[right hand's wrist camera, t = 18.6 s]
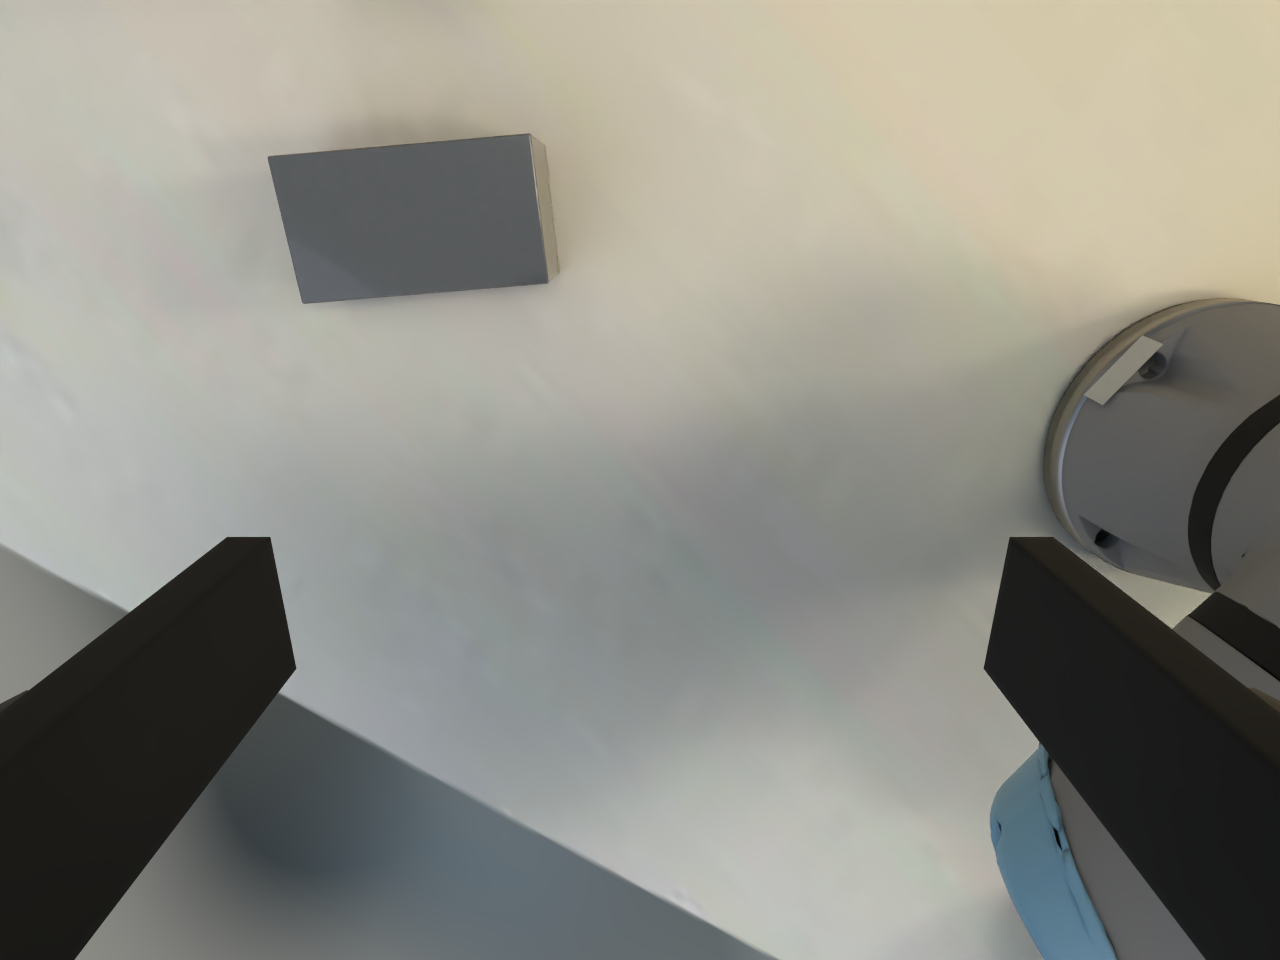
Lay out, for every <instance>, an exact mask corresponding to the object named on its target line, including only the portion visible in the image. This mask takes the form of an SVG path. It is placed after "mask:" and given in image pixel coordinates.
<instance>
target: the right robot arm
mask: <svg viewBox="0 0 1280 960" xmlns="http://www.w3.org/2000/svg"><path fill="white" fill-rule="evenodd" d="M1044 481H1045V487H1046V492H1047V495H1048V499H1049V502H1050V504H1051V507H1052V509H1053V511H1054V513H1055V515H1056V517H1057V518H1058V520H1059V522H1060V523H1061V524H1062V526H1063V527H1064V528H1065V530H1066V531H1067V532H1068V533H1069V534H1070V535H1071V536H1072V537H1073V538H1074V539H1075V540H1077V541H1078V542H1079V543H1080V544H1082V545H1083V546H1084V547H1086V548H1087V549H1088V550H1090V551H1091V552H1092V553H1094V554H1095V555H1096V556H1098V557H1099V558H1101V559H1102V560H1104V561H1105V562H1107V563H1109V564H1110V565H1112V566H1115V567H1117V568H1119V569H1121V570H1124V571H1127V572H1130V573H1133V574H1137V575H1140V576H1144V577H1148V578H1152V579H1156V580H1160V581H1164V582H1168V583H1172V584H1176V585H1180V586H1184V587H1188V588H1192V589H1196V590H1200V591H1204V592H1208V593H1212V595H1211V596H1210V597H1208V598H1207V599H1206V600H1205V601H1204V602H1203V603H1202V604H1201V605H1199V606H1198V607H1197V608H1196V609H1195V610H1194V611H1193V612H1192V613H1190V614H1189V615H1187V616H1186V617H1185V618H1184V619H1183V620H1182V621H1181V622H1180V623H1178V624H1177V625H1176V626H1175V627H1174V628H1173V629H1171V628H1170V627H1168V626H1167V625H1166V624H1165V623H1163V622H1162V621H1161V620H1159V619H1158V618H1157V617H1155V616H1154V615H1153V614H1152V613H1150V612H1149V611H1148V610H1146V609H1145V608H1144V607H1143V606H1141V605H1140V604H1139V603H1137V602H1136V601H1135V600H1134V599H1132V598H1131V597H1130V596H1128V595H1127V594H1126V593H1124V592H1123V591H1122V590H1121V589H1119V588H1118V587H1117V586H1115V585H1114V584H1113V583H1112V582H1110V581H1109V580H1108V579H1106V578H1105V577H1104V576H1103V575H1101V574H1100V573H1099V572H1097V571H1096V570H1095V569H1093V568H1092V567H1091V566H1090V565H1088V564H1087V563H1086V562H1084V561H1083V560H1082V559H1081V558H1079V557H1078V556H1077V555H1075V554H1074V553H1073V552H1071V551H1070V550H1069V549H1068V548H1066V547H1065V546H1064V545H1062V544H1061V543H1060V542H1059V541H1057V540H1056V539H1055V538H1053V537H1010V538H1009V543H1008V549H1007V554H1006V559H1005V564H1004V569H1003V574H1002V579H1001V584H1000V589H999V594H998V599H997V604H996V609H995V614H994V619H993V624H992V629H991V634H990V639H989V645H988V650H987V655H986V660H985V665H984V670H985V671H986V672H987V674H988V675H989V676H990V677H991V679H992V680H993V681H994V683H995V684H996V685H997V687H998V688H999V689H1000V691H1001V692H1002V693H1003V695H1004V696H1005V697H1006V698H1007V700H1008V701H1009V702H1010V704H1011V705H1012V706H1013V708H1014V709H1015V710H1016V712H1017V713H1018V714H1019V715H1020V717H1021V718H1022V719H1023V721H1024V722H1025V723H1026V725H1027V726H1028V727H1029V729H1030V730H1031V731H1032V733H1033V734H1034V735H1035V736H1036V738H1037V739H1038V740H1039V742H1040V743H1039V748H1038V749H1037V750H1036V751H1035V752H1034V753H1033V754H1032V755H1031V756H1030V758H1029V759H1028V760H1027V761H1026V762H1025V763H1024V764H1023V765H1022V766H1021V767H1020V768H1019V769H1018V770H1017V771H1016V772H1015V773H1014V774H1013V775H1012V776H1011V777H1010V778H1009V779H1008V780H1007V781H1006V782H1005V783H1004V784H1003V785H1002V786H1001V787H1000V789H999V790H998V792H997V793H996V795H995V797H994V800H993V804H992V807H991V812H990V829H991V839H992V842H993V846H994V849H995V852H996V857H997V864H998V867H999V869H1000V872H1001V875H1002V878H1003V880H1004V883H1005V885H1006V888H1007V890H1008V892H1009V895H1010V897H1011V899H1012V901H1013V903H1014V905H1015V907H1016V909H1017V912H1018V914H1019V915H1020V917H1021V919H1022V921H1023V923H1024V925H1025V927H1026V929H1027V931H1028V932H1029V934H1030V936H1031V938H1032V939H1033V941H1034V943H1035V945H1036V946H1037V948H1038V950H1039V951H1040V953H1041V955H1042V956H1043V958H1044V959H1045V960H1280V305H1276V304H1270V303H1263V302H1256V301H1249V300H1242V299H1229V298H1220V299H1207V300H1200V301H1194V302H1190V303H1185V304H1181V305H1178V306H1175V307H1172V308H1169V309H1166V310H1163V311H1161V312H1159V313H1157V314H1154V315H1152V316H1150V317H1148V318H1146V319H1144V320H1142V321H1140V322H1138V323H1137V324H1135V325H1133V326H1132V327H1130V328H1129V329H1127V330H1126V331H1124V332H1122V333H1121V334H1120V335H1118V336H1117V337H1116V338H1114V339H1113V340H1112V341H1110V342H1109V343H1108V344H1107V345H1106V346H1105V347H1104V348H1102V349H1101V350H1100V351H1099V352H1098V353H1097V354H1096V355H1095V356H1094V357H1093V358H1092V359H1091V360H1090V361H1089V362H1088V363H1087V364H1086V366H1085V367H1084V368H1083V369H1082V370H1081V372H1080V373H1079V374H1078V375H1077V377H1076V378H1075V379H1074V381H1073V382H1072V384H1071V385H1070V387H1069V388H1068V390H1067V391H1066V393H1065V395H1064V397H1063V398H1062V400H1061V402H1060V404H1059V406H1058V408H1057V410H1056V412H1055V415H1054V417H1053V420H1052V423H1051V426H1050V428H1049V432H1048V436H1047V440H1046V446H1045V452H1044ZM295 670H296V665H295V660H294V655H293V650H292V645H291V639H290V634H289V629H288V624H287V619H286V614H285V609H284V604H283V599H282V594H281V589H280V584H279V579H278V574H277V569H276V564H275V559H274V554H273V549H272V543H271V538H270V537H227V538H225V539H224V540H223V541H221V542H220V543H219V544H218V545H216V546H215V547H214V548H212V549H211V550H210V551H209V552H207V553H206V554H205V555H203V556H202V557H201V558H199V559H198V560H197V561H196V562H194V563H193V564H192V565H190V566H189V567H188V568H187V569H185V570H184V571H183V572H181V573H180V574H179V575H177V576H176V577H175V578H174V579H172V580H171V581H170V582H168V583H167V584H166V585H165V586H163V587H162V588H161V589H159V590H158V591H157V592H156V593H154V594H153V595H152V596H150V597H149V598H148V599H146V600H145V601H144V602H143V603H141V604H140V605H139V606H137V607H136V608H135V609H134V610H132V611H131V612H130V613H128V614H127V615H126V616H125V617H123V618H122V619H121V620H119V621H118V622H117V623H115V624H114V625H113V626H112V627H110V628H109V629H108V630H106V631H105V632H104V633H103V634H101V635H100V636H99V637H97V638H96V639H95V640H94V641H92V642H91V643H90V644H88V645H87V646H86V647H85V648H83V649H82V650H81V651H79V652H78V653H77V654H75V655H74V656H73V657H72V658H70V659H69V660H68V661H66V662H65V663H64V664H62V665H61V666H60V667H59V668H57V669H56V670H55V671H53V672H52V673H51V674H50V675H48V676H47V677H46V678H44V679H43V680H42V681H41V682H39V683H38V684H37V685H35V686H34V687H33V688H32V689H30V690H27V691H24V692H22V693H21V694H19V695H17V696H15V697H13V698H11V699H9V700H7V701H5V702H3V703H1V704H0V960H75V958H76V957H77V956H78V954H79V953H80V952H81V950H82V949H83V948H84V946H85V945H86V944H87V942H88V941H89V940H90V939H91V937H92V936H93V935H94V933H95V932H96V931H97V929H98V928H99V927H100V925H101V924H102V923H103V921H104V920H105V919H106V918H107V916H108V915H109V914H110V912H111V911H112V910H113V908H114V907H115V906H116V904H117V903H118V902H119V900H120V899H121V898H122V897H123V895H124V894H125V893H126V891H127V890H128V889H129V887H130V886H131V885H132V883H133V882H134V881H135V879H136V878H137V877H138V876H139V874H140V873H141V872H142V870H143V869H144V868H145V866H146V865H147V864H148V862H149V861H150V860H151V858H152V857H153V856H154V855H155V853H156V852H157V851H158V849H159V848H160V847H161V845H162V844H163V843H164V841H165V840H166V839H167V837H168V836H169V835H170V833H171V832H172V831H173V830H174V828H175V827H176V826H177V824H178V823H179V822H180V820H181V819H182V818H183V817H184V815H185V814H186V813H187V811H188V810H189V809H190V807H191V806H192V805H193V803H194V802H195V801H196V799H197V798H198V797H199V796H200V794H201V793H202V792H203V790H204V789H205V788H206V786H207V785H208V784H209V782H210V781H211V780H212V778H213V777H214V776H215V775H216V773H217V772H218V771H219V769H220V768H221V767H222V765H223V764H224V763H225V761H226V760H227V759H228V757H229V756H230V755H231V753H232V752H233V751H234V750H235V748H236V747H237V746H238V744H239V743H240V742H241V740H242V739H243V738H244V736H245V735H246V734H247V733H248V731H249V730H250V729H251V727H252V726H253V725H254V723H255V722H256V721H257V719H258V718H259V717H260V715H261V714H262V713H263V712H264V710H265V709H266V708H267V706H268V705H269V704H270V702H271V701H272V700H273V698H274V697H275V696H276V694H277V693H278V692H279V691H280V689H281V688H282V687H283V685H284V684H285V683H286V681H287V680H288V679H289V677H290V676H291V675H292V674H293V672H294V671H295Z"/></svg>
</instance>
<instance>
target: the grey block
mask: <svg viewBox="0 0 1280 960" xmlns="http://www.w3.org/2000/svg"><path fill="white" fill-rule="evenodd" d="M268 162H269V166H270V170H271V174H272V178H273V183H274V187H275V191H276V195H277V199H278V203H279V208H280V212H281V216H282V220H283V224H284V228H285V233H286V237H287V241H288V245H289V249H290V253H291V257H292V262H293V266H294V270H295V274H296V278H297V282H298V287H299V291H300V295H301V299H302V303H304V304H308V303H320V302H332V301H344V300H356V299H368V298H380V297H393V296H405V295H417V294H429V293H441V292H453V291H465V290H477V289H489V288H501V287H513V286H525V285H537V284H548V283H549V282H550V281H551V280H553V279H554V278H555V277H556V276H558V275H559V265H558V256H557V247H556V238H555V230H554V221H553V212H552V204H551V195H550V186H549V177H548V169H547V160H546V151H545V145H544V144H543V143H541V142H540V141H539V140H538V139H536V138H535V137H534V136H532V135H531V134H518V135H506V136H495V137H483V138H472V139H460V140H449V141H437V142H426V143H414V144H403V145H391V146H380V147H368V148H357V149H345V150H334V151H322V152H311V153H299V154H288V155H276V156H269V157H268Z"/></svg>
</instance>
